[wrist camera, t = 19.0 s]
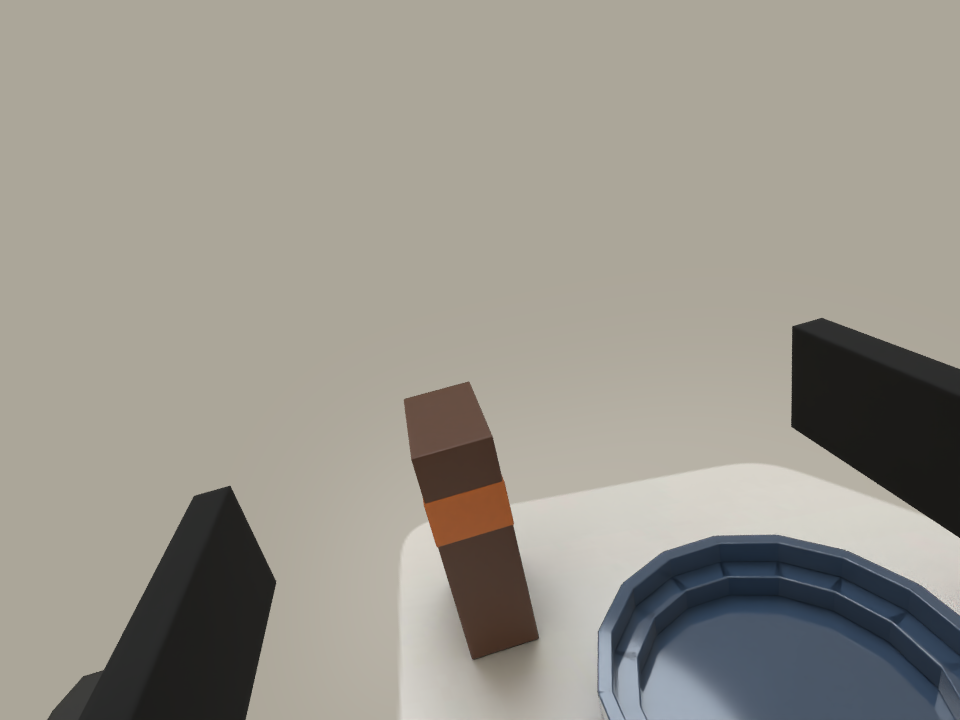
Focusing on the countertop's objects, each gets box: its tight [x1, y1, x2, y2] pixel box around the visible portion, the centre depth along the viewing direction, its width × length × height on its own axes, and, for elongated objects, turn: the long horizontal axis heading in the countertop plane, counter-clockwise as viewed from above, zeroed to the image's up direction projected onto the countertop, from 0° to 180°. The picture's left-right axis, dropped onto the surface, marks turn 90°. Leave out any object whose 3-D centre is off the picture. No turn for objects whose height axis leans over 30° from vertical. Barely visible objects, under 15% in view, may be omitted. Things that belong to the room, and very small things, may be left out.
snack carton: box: [404, 382, 539, 659], centre depth 28 cm, size 4×6×12 cm, turn 11°
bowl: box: [597, 535, 960, 720], centre depth 21 cm, size 14×14×3 cm
